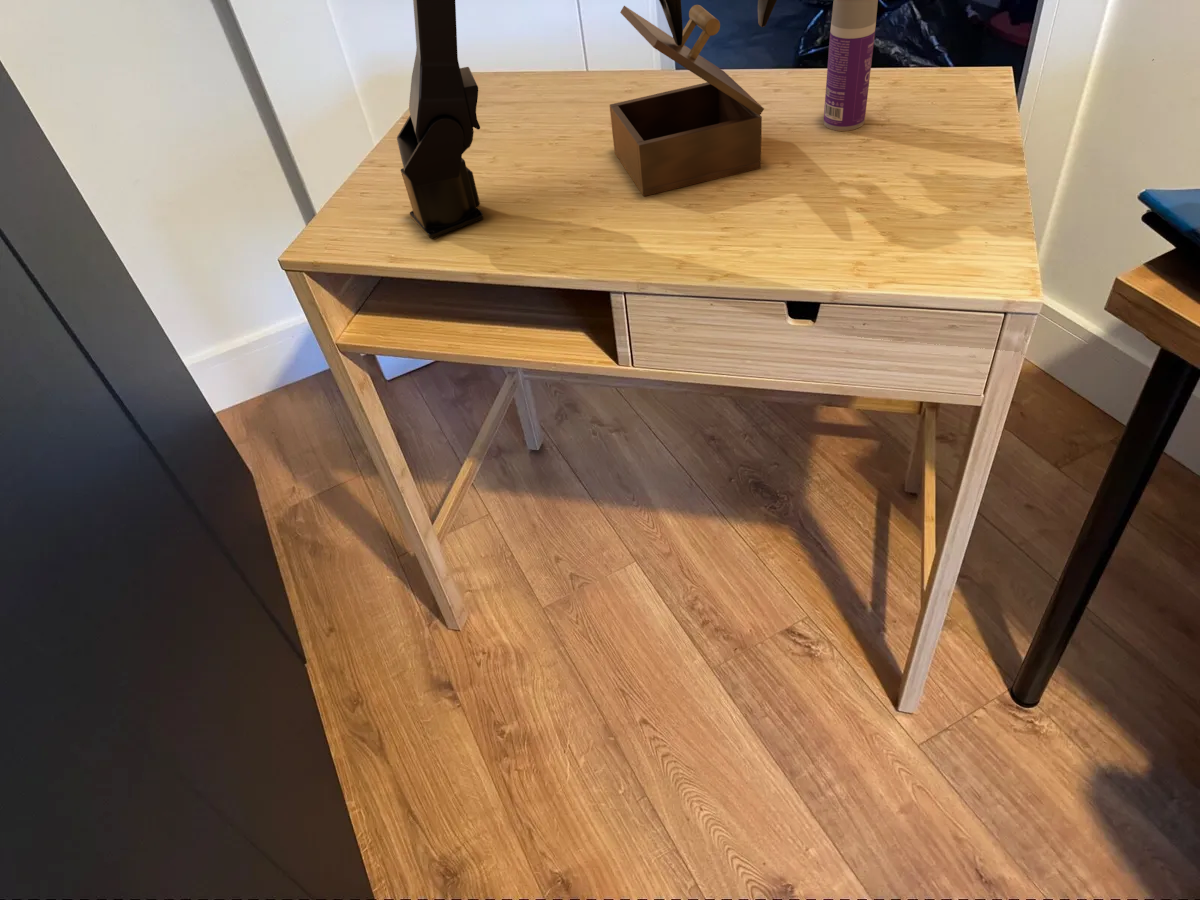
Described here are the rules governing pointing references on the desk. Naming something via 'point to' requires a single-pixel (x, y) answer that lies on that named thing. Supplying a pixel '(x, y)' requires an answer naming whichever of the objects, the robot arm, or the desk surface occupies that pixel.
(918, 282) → the desk surface
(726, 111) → the compartment
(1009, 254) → the desk surface
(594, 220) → the desk surface
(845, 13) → the container
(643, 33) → the box door
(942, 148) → the desk surface
